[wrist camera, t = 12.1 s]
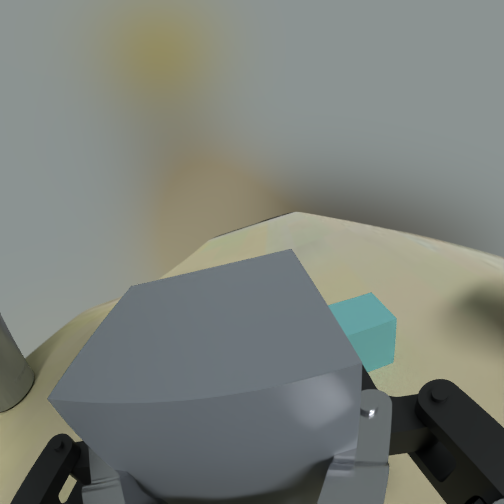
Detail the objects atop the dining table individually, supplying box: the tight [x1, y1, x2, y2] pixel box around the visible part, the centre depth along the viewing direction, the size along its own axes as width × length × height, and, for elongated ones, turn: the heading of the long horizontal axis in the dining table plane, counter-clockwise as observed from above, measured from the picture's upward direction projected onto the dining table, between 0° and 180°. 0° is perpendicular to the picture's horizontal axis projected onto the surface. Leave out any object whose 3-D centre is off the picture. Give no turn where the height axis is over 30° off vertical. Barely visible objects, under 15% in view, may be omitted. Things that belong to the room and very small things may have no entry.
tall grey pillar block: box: [47, 249, 362, 504], centre depth 8 cm, size 6×6×10 cm
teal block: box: [328, 293, 397, 372], centre depth 18 cm, size 4×4×4 cm
